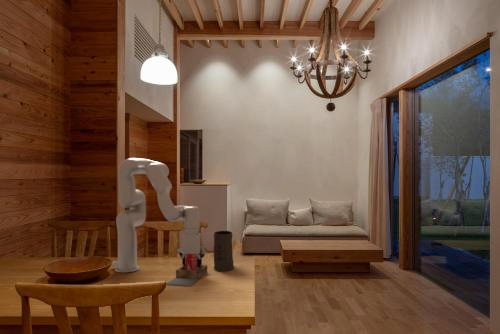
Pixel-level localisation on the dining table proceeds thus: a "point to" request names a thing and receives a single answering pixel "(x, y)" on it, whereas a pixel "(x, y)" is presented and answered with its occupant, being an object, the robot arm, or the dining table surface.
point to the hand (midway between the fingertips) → (192, 265)
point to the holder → (191, 273)
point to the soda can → (191, 262)
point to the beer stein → (223, 251)
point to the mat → (182, 282)
